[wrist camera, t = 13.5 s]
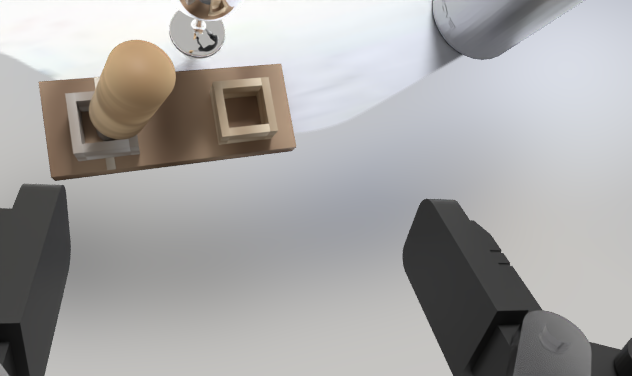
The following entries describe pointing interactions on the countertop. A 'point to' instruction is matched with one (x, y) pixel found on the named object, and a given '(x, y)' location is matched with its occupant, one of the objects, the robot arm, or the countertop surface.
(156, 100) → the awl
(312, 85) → the countertop surface
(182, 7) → the wineglass
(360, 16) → the countertop surface
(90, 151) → the plank
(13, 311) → the robot arm
